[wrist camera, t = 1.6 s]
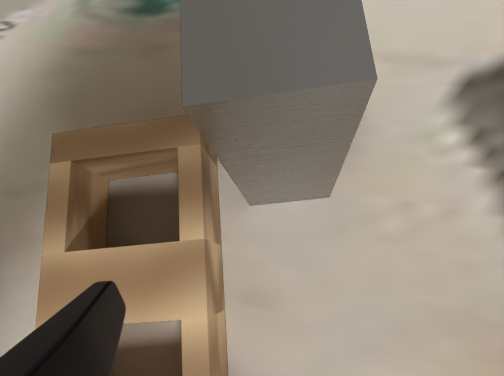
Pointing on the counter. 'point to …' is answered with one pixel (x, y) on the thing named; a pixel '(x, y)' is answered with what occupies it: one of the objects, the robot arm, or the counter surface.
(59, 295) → the board with square holes
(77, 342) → the robot arm
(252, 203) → the grey square pillar
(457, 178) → the counter surface
